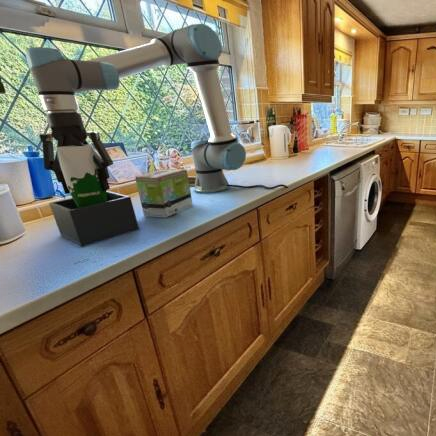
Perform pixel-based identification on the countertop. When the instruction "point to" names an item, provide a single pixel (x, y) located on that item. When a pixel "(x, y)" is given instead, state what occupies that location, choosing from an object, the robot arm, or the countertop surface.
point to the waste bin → (95, 219)
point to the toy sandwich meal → (191, 180)
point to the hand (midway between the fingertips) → (88, 191)
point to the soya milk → (81, 175)
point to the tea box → (164, 192)
